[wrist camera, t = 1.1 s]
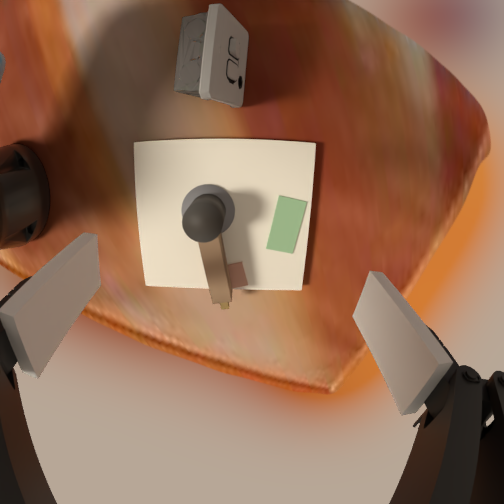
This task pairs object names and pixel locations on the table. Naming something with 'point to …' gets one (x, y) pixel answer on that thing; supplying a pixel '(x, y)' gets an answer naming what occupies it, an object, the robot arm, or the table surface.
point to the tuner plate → (237, 209)
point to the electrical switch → (212, 57)
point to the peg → (210, 244)
